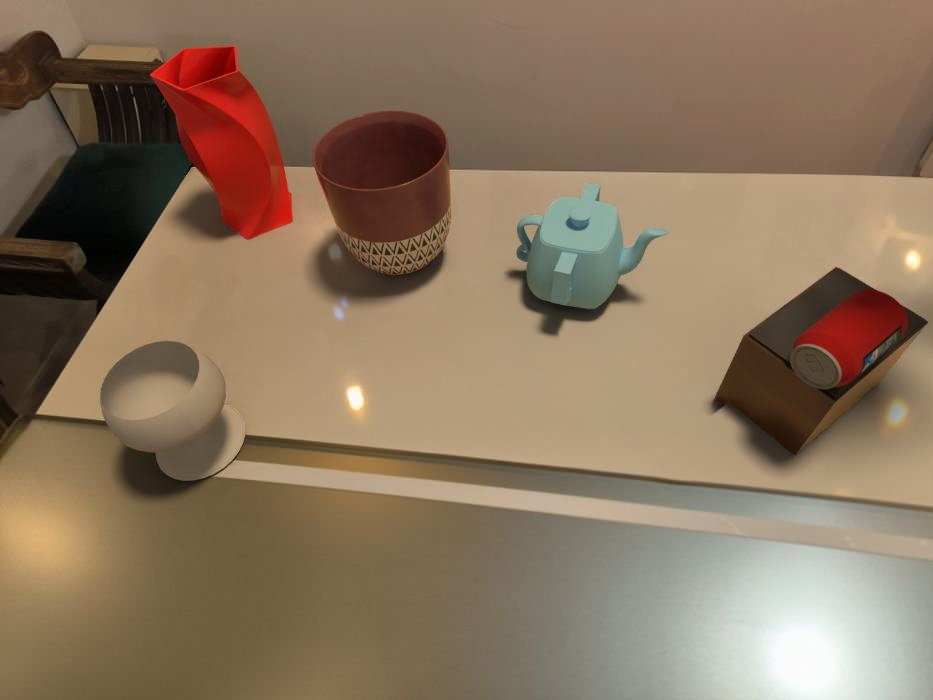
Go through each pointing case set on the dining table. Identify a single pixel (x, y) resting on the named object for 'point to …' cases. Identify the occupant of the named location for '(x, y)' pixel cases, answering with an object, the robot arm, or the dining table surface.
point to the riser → (778, 387)
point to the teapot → (579, 250)
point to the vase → (228, 137)
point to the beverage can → (848, 339)
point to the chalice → (173, 409)
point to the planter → (388, 188)
